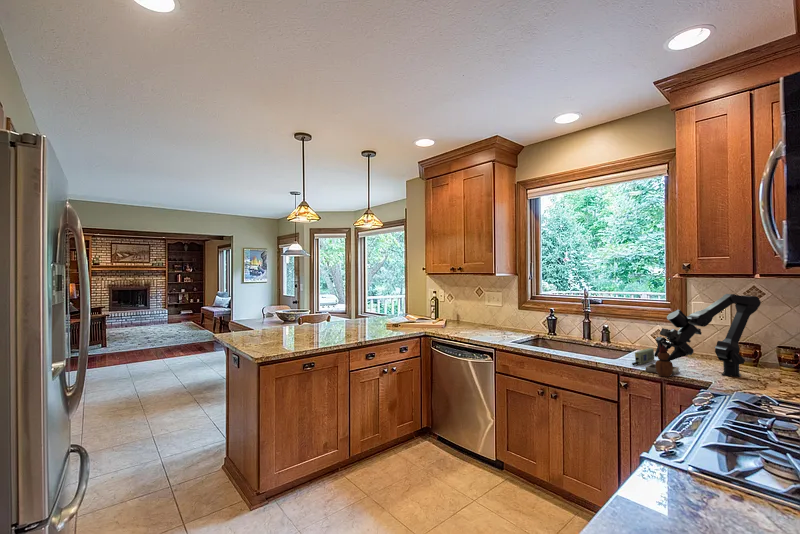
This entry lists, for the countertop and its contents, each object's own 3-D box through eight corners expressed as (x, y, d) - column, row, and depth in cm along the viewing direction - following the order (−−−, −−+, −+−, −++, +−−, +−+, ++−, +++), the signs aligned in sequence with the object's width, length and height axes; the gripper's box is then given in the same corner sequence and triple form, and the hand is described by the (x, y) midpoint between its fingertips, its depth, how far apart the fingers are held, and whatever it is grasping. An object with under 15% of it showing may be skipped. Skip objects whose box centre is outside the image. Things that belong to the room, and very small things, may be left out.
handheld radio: (655, 360, 216) (636, 367, 201) (649, 359, 218) (630, 366, 203) (654, 348, 216) (635, 354, 201) (648, 347, 219) (629, 353, 204)
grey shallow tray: (651, 367, 198) (651, 363, 198) (678, 371, 190) (678, 367, 190) (645, 371, 191) (645, 367, 191) (673, 375, 182) (673, 371, 182)
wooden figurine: (659, 377, 179) (658, 345, 179) (653, 374, 184) (652, 343, 185) (675, 377, 178) (674, 345, 178) (669, 374, 183) (667, 343, 184)
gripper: (658, 320, 191) (636, 342, 191) (686, 324, 172) (662, 349, 172) (675, 336, 191) (653, 358, 191) (704, 342, 172) (680, 367, 172)
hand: (661, 358), depth 181 cm, fingers open, 9 cm apart
